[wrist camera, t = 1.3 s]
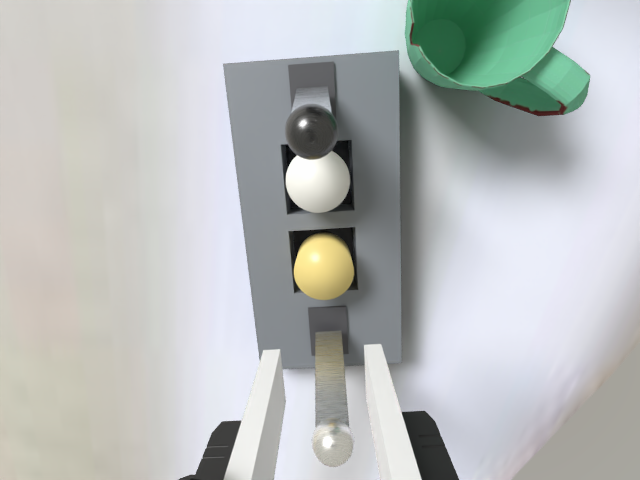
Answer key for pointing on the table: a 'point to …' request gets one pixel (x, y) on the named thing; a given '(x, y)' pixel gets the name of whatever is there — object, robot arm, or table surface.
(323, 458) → the lever
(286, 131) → the lever
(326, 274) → the button mustard
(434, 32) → the mug
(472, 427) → the table surface
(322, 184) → the button ivory
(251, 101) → the panel
